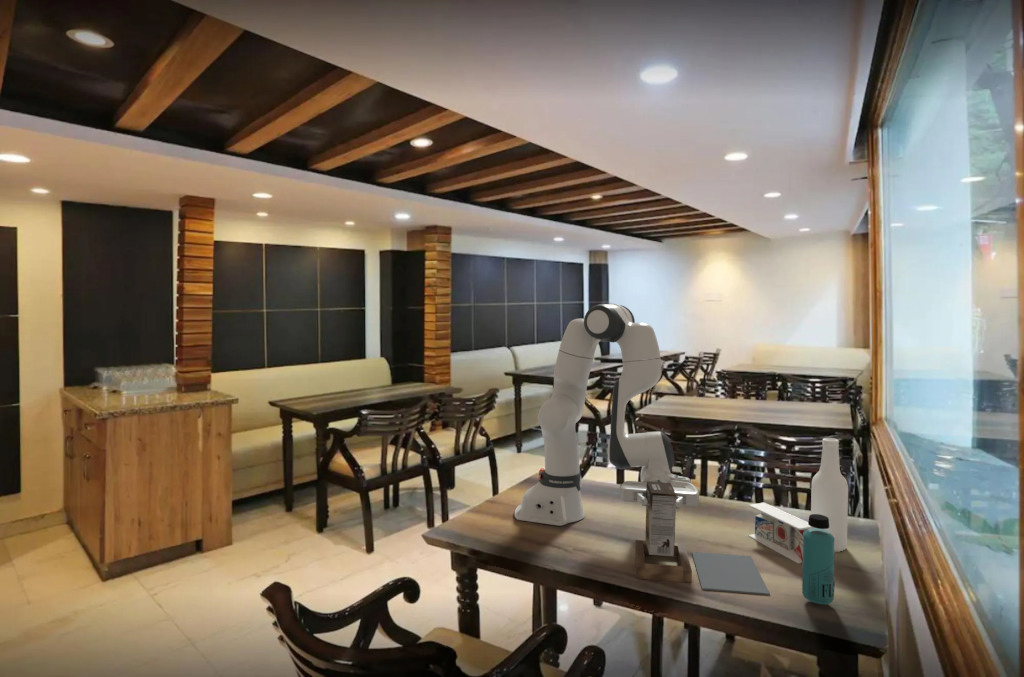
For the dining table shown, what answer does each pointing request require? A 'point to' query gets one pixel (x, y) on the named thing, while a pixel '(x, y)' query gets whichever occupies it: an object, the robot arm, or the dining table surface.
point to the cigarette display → (780, 531)
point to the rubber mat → (729, 573)
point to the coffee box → (660, 518)
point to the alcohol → (831, 493)
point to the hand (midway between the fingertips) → (660, 504)
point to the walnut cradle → (663, 571)
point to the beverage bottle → (818, 561)
